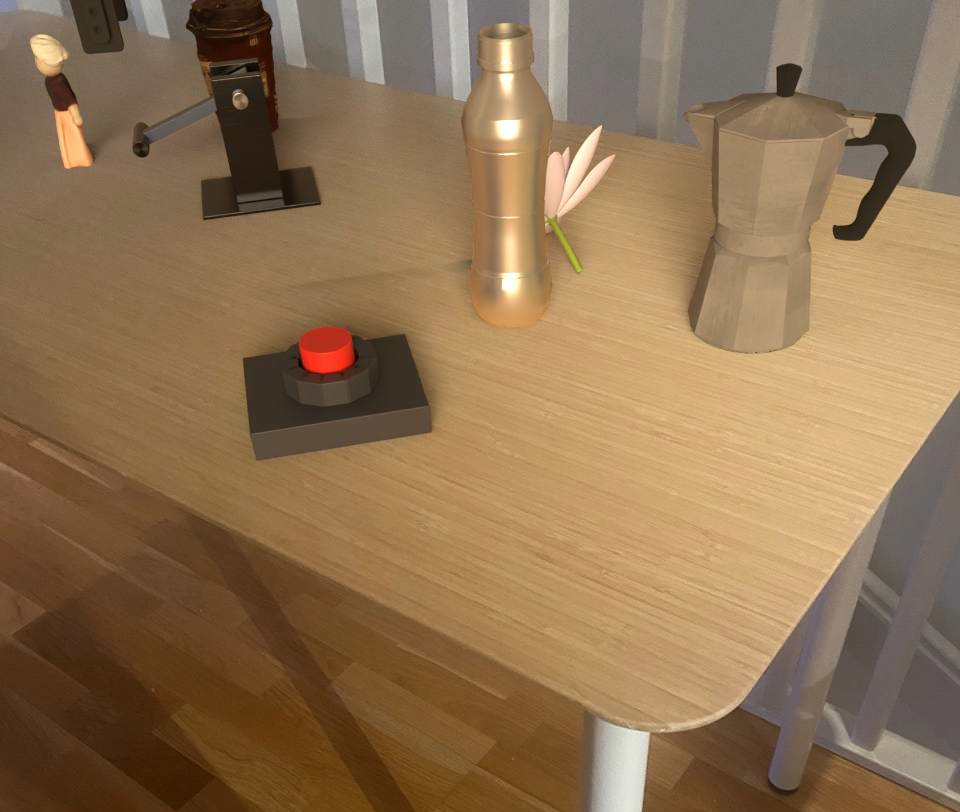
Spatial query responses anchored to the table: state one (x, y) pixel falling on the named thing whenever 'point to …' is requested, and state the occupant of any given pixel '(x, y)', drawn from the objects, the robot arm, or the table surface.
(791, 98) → the coffeepot
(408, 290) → the table surface
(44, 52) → the grandmother figurine
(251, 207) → the lever bracket
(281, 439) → the switch base
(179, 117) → the switch lever
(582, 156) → the water lily
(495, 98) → the gold metal bottle
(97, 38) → the robot arm
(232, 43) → the coffee cup
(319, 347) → the button
